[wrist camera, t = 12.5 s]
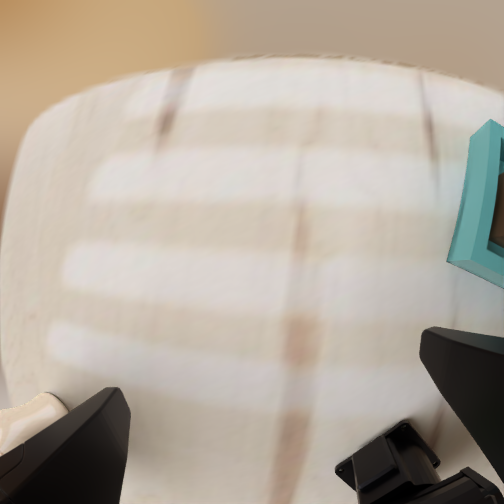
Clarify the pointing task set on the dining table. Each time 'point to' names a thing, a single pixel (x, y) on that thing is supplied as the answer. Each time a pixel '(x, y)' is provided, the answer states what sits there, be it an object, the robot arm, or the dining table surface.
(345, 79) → the dining table surface
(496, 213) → the walnut post
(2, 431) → the beer glass
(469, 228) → the teal tray
